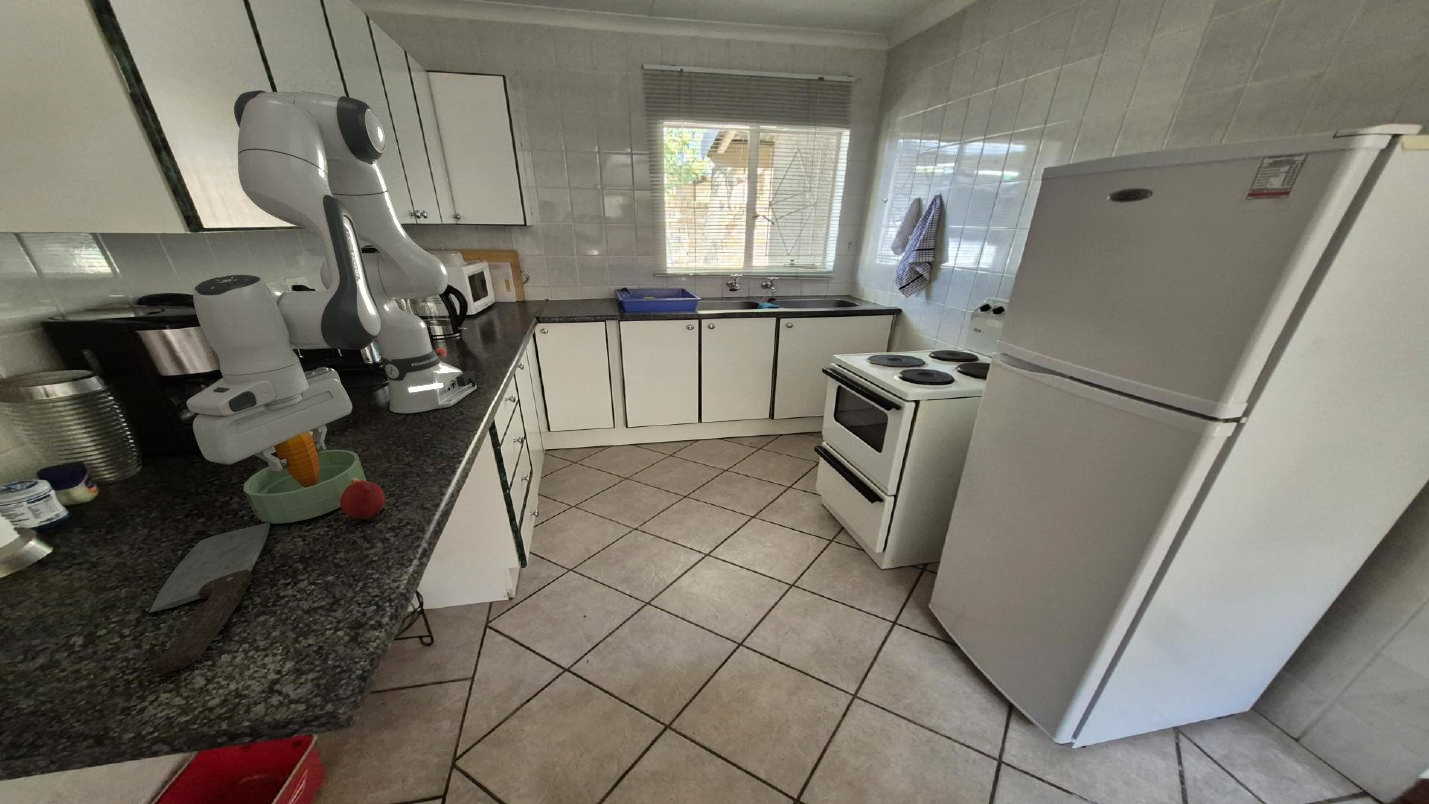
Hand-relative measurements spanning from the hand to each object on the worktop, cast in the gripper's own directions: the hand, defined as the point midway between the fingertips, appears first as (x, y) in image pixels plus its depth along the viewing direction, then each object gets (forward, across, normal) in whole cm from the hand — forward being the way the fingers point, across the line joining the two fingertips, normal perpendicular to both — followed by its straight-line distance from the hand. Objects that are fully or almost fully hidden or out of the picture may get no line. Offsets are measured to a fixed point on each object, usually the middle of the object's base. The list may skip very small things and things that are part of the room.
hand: (300, 459), depth 75 cm
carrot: (+6, 0, 0) cm, 6 cm away
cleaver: (+9, +19, +6) cm, 22 cm away
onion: (+9, +2, +13) cm, 16 cm away
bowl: (+9, -1, -2) cm, 9 cm away
